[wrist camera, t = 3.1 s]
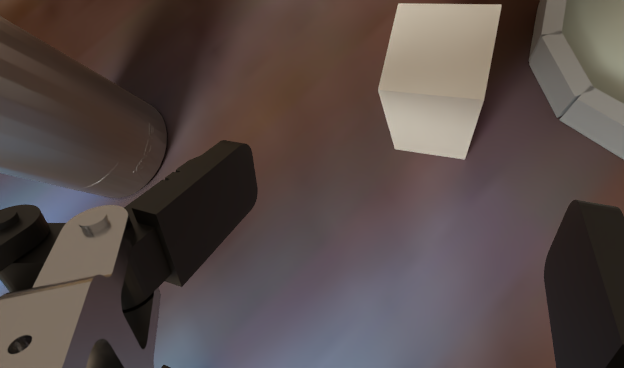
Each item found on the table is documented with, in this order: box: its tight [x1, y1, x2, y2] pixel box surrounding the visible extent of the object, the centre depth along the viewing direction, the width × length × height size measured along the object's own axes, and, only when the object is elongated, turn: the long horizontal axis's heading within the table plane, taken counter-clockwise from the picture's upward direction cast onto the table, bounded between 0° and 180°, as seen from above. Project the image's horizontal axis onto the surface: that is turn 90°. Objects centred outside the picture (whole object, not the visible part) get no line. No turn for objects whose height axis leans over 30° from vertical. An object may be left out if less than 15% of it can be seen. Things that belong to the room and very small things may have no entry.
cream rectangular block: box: [378, 4, 502, 159], centre depth 21 cm, size 5×5×9 cm
